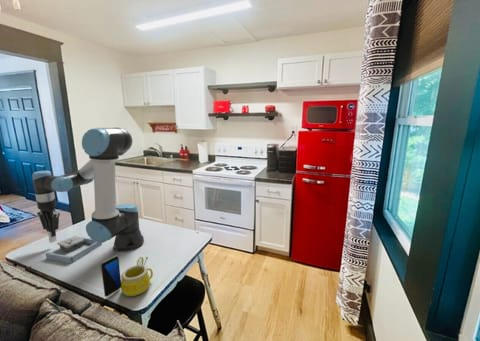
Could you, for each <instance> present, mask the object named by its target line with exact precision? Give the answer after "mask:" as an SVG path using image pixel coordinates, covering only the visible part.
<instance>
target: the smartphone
mask: <svg viewBox="0 0 480 341" xmlns="http://www.w3.org/2000/svg"><path fill="white" fill-rule="evenodd" d="M119 262H120V260H119V256H118V255H113V256H112V257H110V258H108V259H106V260H103V261H102V262H101V263H100V269H101V277H102V285H103V286H102V287H103V292H104V293H103V294H104V297H106V298H107V297H109V296H111V295H112V294H114V293H116V292H117V291H119V290H121V280H122V278H121V271H120V270H121V269H120V263H119Z"/></svg>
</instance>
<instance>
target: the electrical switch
mask: <svg viewBox="0 0 480 341" xmlns="http://www.w3.org/2000/svg"><path fill="white" fill-rule="evenodd" d="M80 237H81V236H77V235H74V236H71V237H68V238H66V239H63V240H60V241H57V243H56V245H58V246H59V249H60V250H61V251H65V252H67V253H69V252H71V251H74V250H77V249H79V248H81V247H83V246H84V243H83V241H84V239H83V238H80Z"/></svg>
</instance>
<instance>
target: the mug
mask: <svg viewBox="0 0 480 341" xmlns="http://www.w3.org/2000/svg"><path fill="white" fill-rule="evenodd" d="M148 257H149V256H146V257H145V261H144V257H142V256H139V257H138V259H137V260H136V265H134V266H133V265H132V266H129V267H128V268H126V269H125V270H124V271H123V272H122V273H121V274H120V277H121V288H120V290H121V293H122V294H123V295H124V296H127V297H134V296H138V295H140V294H143V293H144V292H146V290H148V288H149V287H150V284H151V279H152V278H153V276H154V275H153V274H154V272H153V270H152V268H150V267H149V268H147V266H145V264H146V263H147V260H148V259H149V258H148ZM148 271H149V272H150V275H149V272H148Z"/></svg>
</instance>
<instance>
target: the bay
mask: <svg viewBox="0 0 480 341" xmlns="http://www.w3.org/2000/svg"><path fill="white" fill-rule="evenodd" d="M79 237H80V238H83V239H84V241H83V244H88V245H89V244H90V245H89V246H87V247H84V248H83V249H81V250H79V251H78V252H75V254H73V255H71V256H70V255H64V254H58V253H53V252H48V251H47V252H45V257H46V260H51V261H57V262H61V263H62V262H63V263H67V264H73V263H75V262H77V261H78V260H80V259H82V258H83V257H85V256H86V255H88V254H90V253H91V252H93V251H94V250H95V249H97V248H99V247H100V246H102V244H103V243H98V242H95V241H93V240H92V239H91V238H90V237H85V236H84V237H83V236H82V237H81V236H79Z"/></svg>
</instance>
